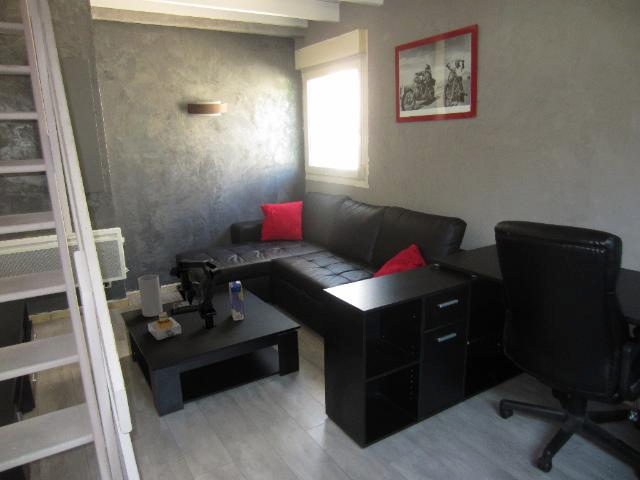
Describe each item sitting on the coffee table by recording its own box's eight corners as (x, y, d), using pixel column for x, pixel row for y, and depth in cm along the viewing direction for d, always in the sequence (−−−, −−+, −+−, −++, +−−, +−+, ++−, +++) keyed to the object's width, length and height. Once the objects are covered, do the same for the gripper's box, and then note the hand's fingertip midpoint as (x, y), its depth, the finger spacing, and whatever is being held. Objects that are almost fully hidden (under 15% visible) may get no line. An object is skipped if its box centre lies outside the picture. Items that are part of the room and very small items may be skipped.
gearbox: (183, 334, 264) (182, 323, 262) (159, 342, 256) (158, 330, 254) (171, 324, 279) (170, 314, 277) (148, 331, 270) (147, 320, 269)
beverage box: (241, 312, 294) (239, 280, 288) (244, 319, 284) (242, 286, 278) (231, 314, 292) (228, 282, 286) (233, 320, 281) (230, 287, 276)
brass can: (169, 324, 267) (168, 313, 265) (161, 326, 264) (160, 315, 262) (166, 322, 270) (165, 311, 269) (158, 324, 267) (157, 313, 266)
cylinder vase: (156, 317, 290) (151, 281, 284) (138, 316, 292) (133, 280, 286) (166, 310, 301) (162, 275, 295) (149, 309, 304) (145, 274, 298)
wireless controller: (175, 315, 293) (172, 290, 289) (173, 308, 306) (170, 284, 302) (206, 310, 301) (203, 285, 297) (203, 303, 313) (200, 279, 309)
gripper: (203, 280, 275) (206, 303, 278) (191, 273, 289) (194, 295, 293) (186, 284, 268) (189, 308, 272) (174, 276, 282) (177, 300, 286)
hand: (187, 302), depth 281 cm, fingers open, 9 cm apart
